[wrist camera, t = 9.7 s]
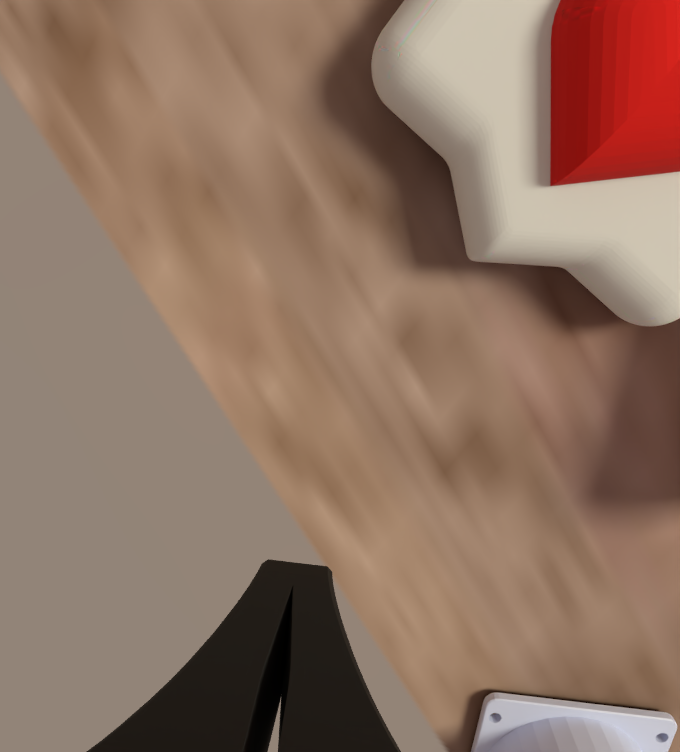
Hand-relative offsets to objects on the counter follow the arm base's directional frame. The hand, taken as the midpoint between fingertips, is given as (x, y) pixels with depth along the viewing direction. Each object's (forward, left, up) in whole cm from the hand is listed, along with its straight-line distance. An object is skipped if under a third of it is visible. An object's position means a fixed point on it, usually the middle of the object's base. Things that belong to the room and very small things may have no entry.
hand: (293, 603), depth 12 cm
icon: (+11, -7, -10) cm, 16 cm away
